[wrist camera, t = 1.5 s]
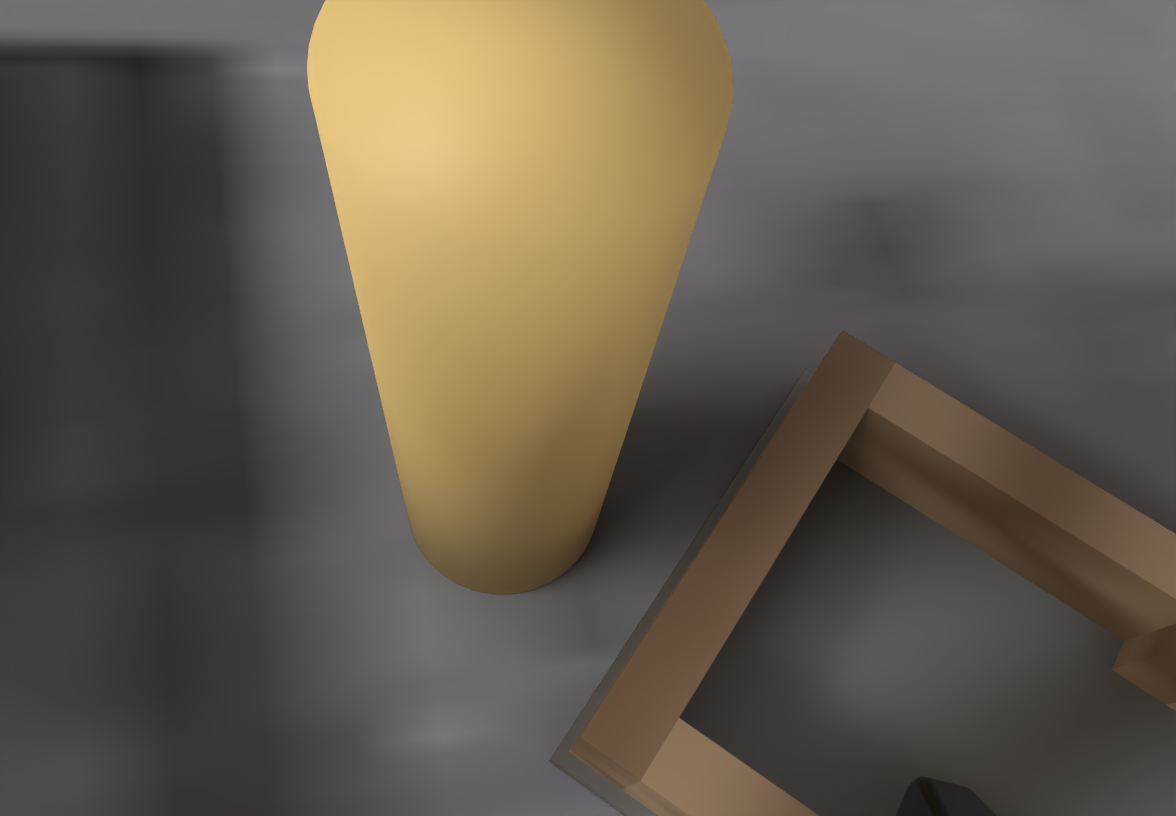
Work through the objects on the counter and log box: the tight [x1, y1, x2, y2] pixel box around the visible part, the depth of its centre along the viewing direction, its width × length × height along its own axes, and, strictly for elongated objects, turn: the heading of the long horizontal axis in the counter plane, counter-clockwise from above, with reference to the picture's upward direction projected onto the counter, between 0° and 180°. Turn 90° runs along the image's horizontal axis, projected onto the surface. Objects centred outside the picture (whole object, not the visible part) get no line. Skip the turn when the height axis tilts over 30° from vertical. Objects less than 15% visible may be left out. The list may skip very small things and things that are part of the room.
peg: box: [307, 0, 734, 594], centre depth 16 cm, size 4×4×13 cm
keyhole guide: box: [550, 331, 1176, 816], centre depth 19 cm, size 16×10×3 cm, turn 56°
